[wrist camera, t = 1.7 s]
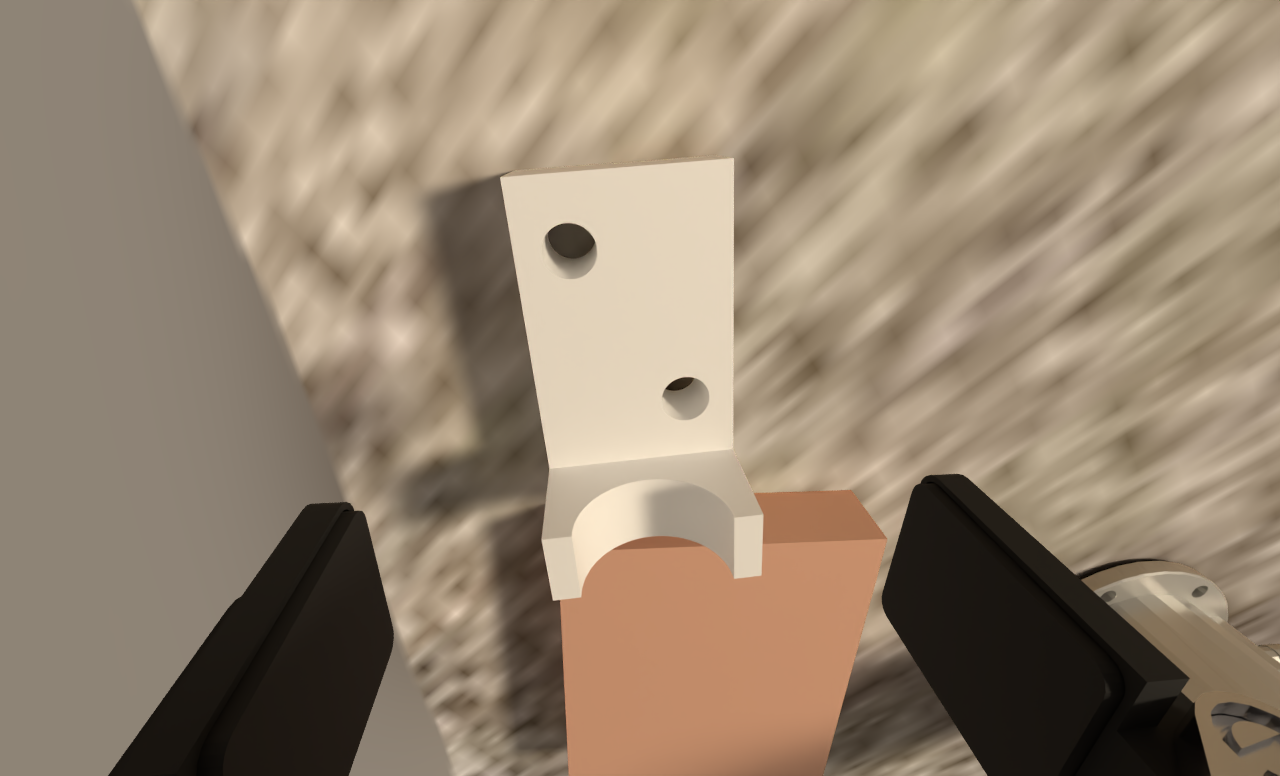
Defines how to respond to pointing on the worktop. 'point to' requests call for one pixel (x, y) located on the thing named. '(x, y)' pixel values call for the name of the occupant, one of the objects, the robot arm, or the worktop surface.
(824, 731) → the riser block
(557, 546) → the bracket
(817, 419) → the worktop surface
